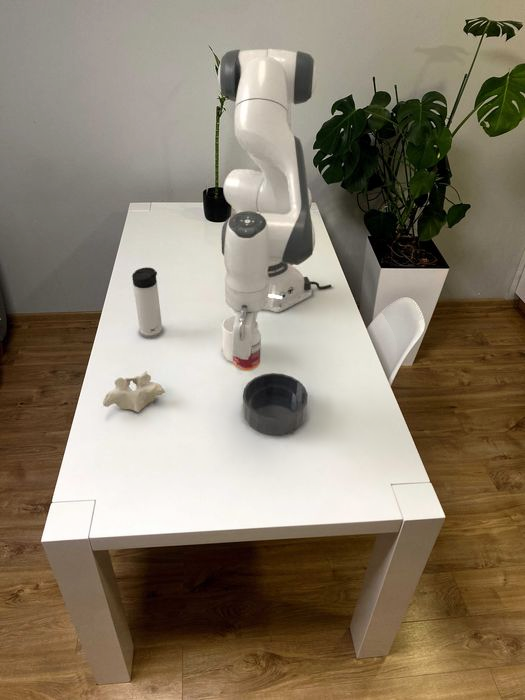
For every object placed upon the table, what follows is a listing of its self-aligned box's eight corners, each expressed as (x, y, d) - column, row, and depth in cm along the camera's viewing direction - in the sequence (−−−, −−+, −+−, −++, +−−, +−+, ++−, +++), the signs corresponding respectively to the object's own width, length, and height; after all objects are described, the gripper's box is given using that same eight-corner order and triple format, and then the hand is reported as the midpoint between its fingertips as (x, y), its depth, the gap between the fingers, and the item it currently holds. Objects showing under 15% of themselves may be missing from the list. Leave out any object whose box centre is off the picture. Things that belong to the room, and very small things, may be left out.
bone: (164, 406, 134) (165, 384, 129) (111, 428, 128) (109, 406, 122) (148, 381, 139) (148, 360, 133) (96, 401, 132) (93, 379, 127)
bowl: (284, 383, 140) (285, 365, 136) (318, 421, 130) (320, 403, 127) (231, 403, 134) (231, 386, 130) (263, 445, 124) (264, 427, 120)
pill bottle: (226, 363, 122) (225, 324, 115) (245, 350, 125) (245, 312, 118) (247, 376, 119) (247, 337, 112) (265, 362, 122) (267, 323, 115)
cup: (252, 343, 152) (253, 314, 146) (254, 372, 143) (255, 342, 137) (222, 344, 152) (222, 314, 145) (223, 373, 143) (222, 343, 136)
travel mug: (159, 340, 152) (151, 279, 140) (136, 336, 153) (127, 276, 141) (166, 326, 157) (160, 267, 144) (145, 323, 158) (136, 263, 145)
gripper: (257, 325, 102) (256, 379, 111) (266, 267, 117) (264, 318, 126) (224, 322, 102) (225, 376, 111) (237, 265, 118) (237, 316, 127)
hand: (246, 345), depth 119 cm, fingers closed on pill bottle, 6 cm apart
